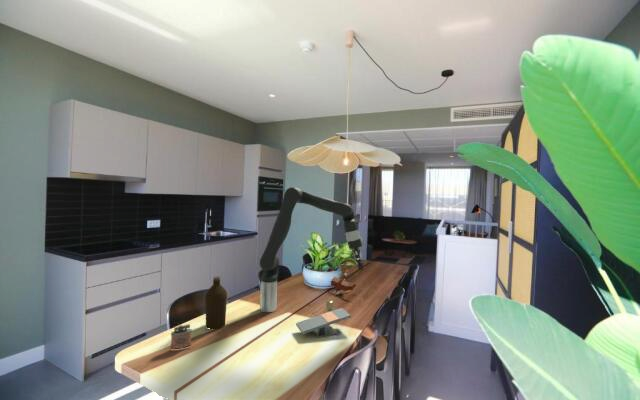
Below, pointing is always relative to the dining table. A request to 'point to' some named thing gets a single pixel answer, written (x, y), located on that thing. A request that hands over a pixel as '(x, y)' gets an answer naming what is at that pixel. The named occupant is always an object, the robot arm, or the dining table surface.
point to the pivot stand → (325, 332)
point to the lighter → (181, 337)
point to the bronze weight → (329, 305)
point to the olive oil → (215, 305)
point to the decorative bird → (342, 284)
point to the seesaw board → (322, 320)
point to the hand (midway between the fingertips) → (361, 268)
